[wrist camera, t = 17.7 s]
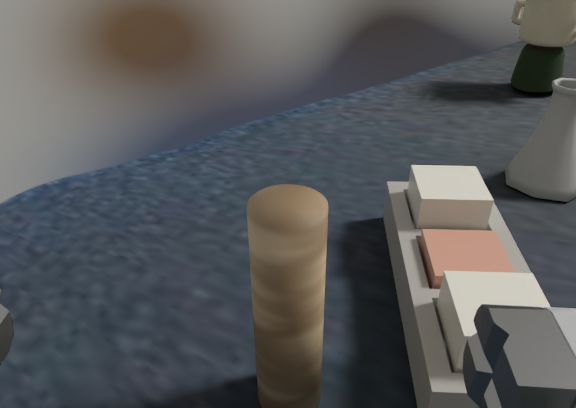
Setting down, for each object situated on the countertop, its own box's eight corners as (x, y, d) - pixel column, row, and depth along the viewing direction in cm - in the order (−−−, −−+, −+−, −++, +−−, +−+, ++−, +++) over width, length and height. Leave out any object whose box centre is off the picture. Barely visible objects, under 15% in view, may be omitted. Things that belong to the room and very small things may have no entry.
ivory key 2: (454, 373, 27) (464, 336, 25) (436, 306, 31) (443, 270, 30) (552, 377, 27) (568, 339, 25) (521, 308, 31) (532, 273, 29)
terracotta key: (428, 309, 33) (435, 275, 32) (416, 260, 37) (421, 228, 36) (507, 311, 33) (518, 278, 31) (486, 262, 37) (494, 230, 35)
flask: (492, 188, 49) (517, 87, 44) (514, 159, 54) (538, 65, 48) (575, 212, 45) (613, 105, 40) (590, 178, 50) (625, 80, 45)
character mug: (585, 95, 69) (618, -8, 62) (557, 107, 66) (588, 0, 59) (512, 74, 76) (534, -20, 69) (484, 84, 73) (504, -14, 66)
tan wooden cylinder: (254, 420, 28) (241, 227, 21) (261, 367, 31) (251, 183, 24) (320, 423, 28) (328, 229, 21) (320, 369, 31) (327, 185, 24)
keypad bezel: (422, 435, 27) (432, 391, 25) (382, 217, 45) (386, 181, 43) (576, 441, 27) (597, 398, 25) (475, 219, 44) (483, 183, 42)
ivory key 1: (416, 231, 38) (421, 198, 36) (407, 195, 42) (411, 165, 40) (485, 232, 37) (493, 200, 36) (469, 196, 42) (475, 166, 40)
